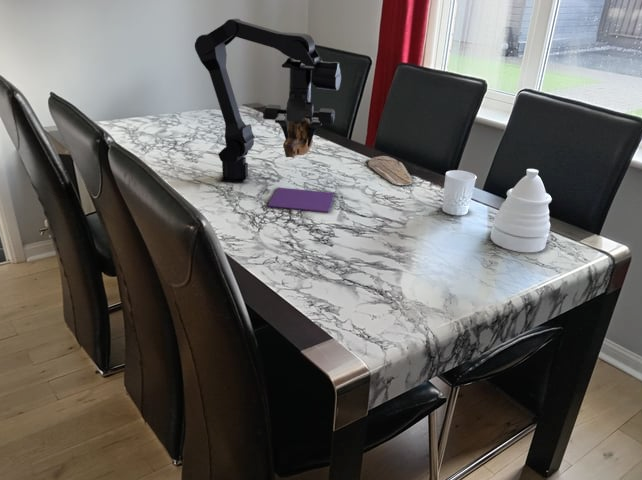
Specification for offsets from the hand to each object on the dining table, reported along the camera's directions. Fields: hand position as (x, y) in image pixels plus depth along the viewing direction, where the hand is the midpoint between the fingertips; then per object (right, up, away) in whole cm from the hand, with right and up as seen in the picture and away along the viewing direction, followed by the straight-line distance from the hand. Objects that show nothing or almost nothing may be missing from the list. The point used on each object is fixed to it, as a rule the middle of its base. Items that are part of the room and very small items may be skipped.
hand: (298, 145), depth 158 cm
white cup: (+42, -19, -4) cm, 46 cm away
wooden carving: (0, -2, +2) cm, 3 cm away
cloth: (+1, -15, -2) cm, 16 cm away
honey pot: (+54, -28, -19) cm, 63 cm away
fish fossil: (+28, -3, +23) cm, 37 cm away
